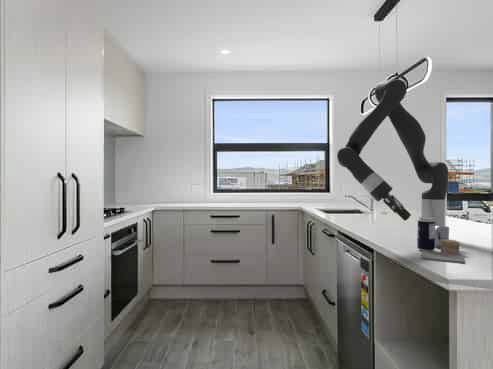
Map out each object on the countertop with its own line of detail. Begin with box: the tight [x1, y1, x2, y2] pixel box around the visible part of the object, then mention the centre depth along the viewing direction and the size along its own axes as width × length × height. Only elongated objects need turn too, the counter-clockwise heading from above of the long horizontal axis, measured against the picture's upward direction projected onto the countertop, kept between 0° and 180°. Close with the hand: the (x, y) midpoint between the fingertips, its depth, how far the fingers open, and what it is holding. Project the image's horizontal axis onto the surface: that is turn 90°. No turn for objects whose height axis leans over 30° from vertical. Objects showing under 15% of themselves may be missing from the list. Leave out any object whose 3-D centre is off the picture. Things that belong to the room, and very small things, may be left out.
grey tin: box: [435, 225, 450, 250], centre depth 135 cm, size 5×5×8 cm
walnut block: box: [440, 239, 460, 254], centre depth 125 cm, size 4×4×4 cm
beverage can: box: [416, 216, 436, 252], centre depth 129 cm, size 6×6×12 cm
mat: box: [420, 250, 465, 264], centre depth 118 cm, size 12×12×1 cm
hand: (408, 217), depth 132 cm, fingers open, 8 cm apart
